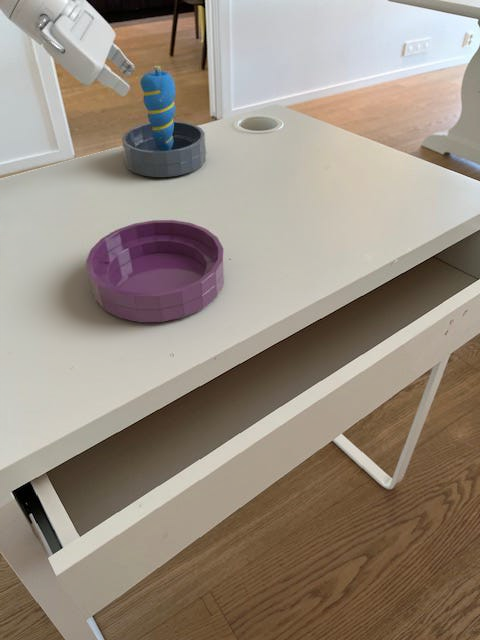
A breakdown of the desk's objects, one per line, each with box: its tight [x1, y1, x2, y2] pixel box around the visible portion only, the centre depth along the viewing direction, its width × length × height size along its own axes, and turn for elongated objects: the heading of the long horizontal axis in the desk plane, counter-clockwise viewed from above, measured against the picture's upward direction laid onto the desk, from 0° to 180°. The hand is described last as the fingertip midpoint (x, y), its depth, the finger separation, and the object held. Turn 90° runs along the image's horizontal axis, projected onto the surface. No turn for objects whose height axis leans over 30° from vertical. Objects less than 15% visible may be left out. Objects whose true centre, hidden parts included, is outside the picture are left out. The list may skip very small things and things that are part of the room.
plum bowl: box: [85, 219, 225, 323], centre depth 59 cm, size 15×15×4 cm
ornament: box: [140, 60, 176, 151], centre depth 80 cm, size 5×5×15 cm
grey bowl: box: [121, 120, 207, 178], centre depth 84 cm, size 13×13×4 cm
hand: (130, 81), depth 77 cm, fingers open, 8 cm apart
